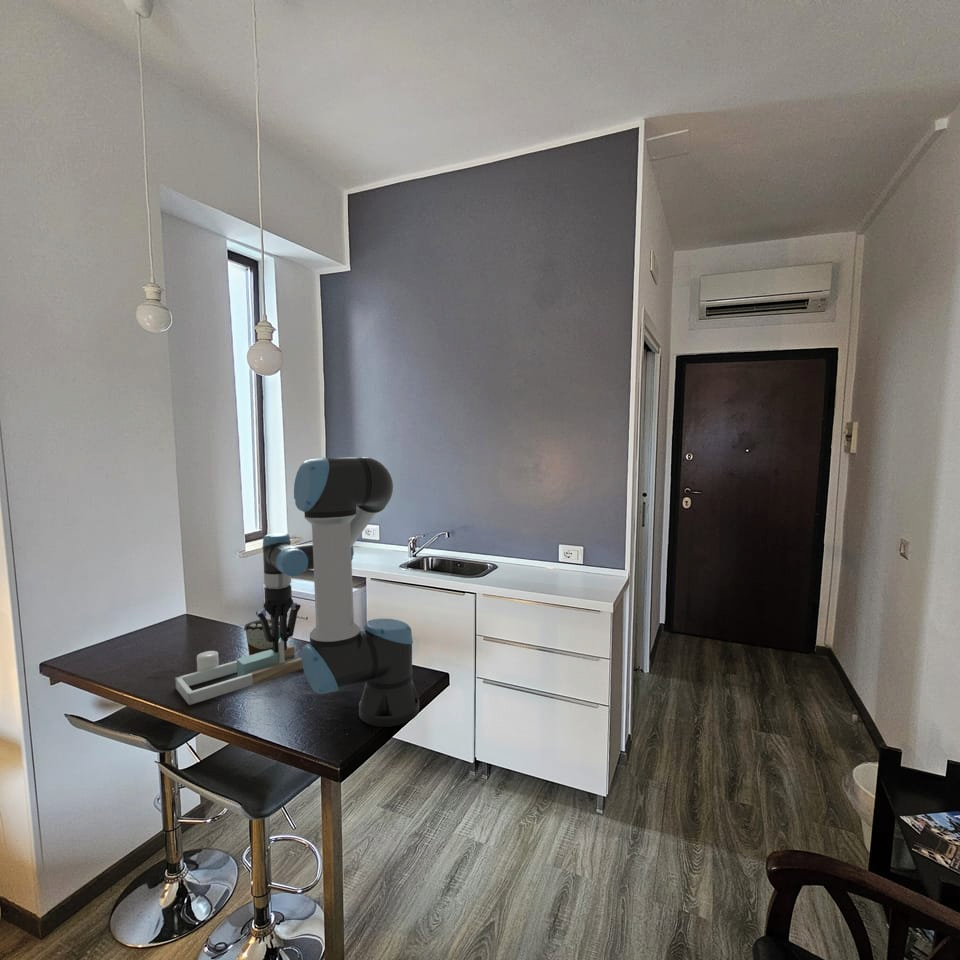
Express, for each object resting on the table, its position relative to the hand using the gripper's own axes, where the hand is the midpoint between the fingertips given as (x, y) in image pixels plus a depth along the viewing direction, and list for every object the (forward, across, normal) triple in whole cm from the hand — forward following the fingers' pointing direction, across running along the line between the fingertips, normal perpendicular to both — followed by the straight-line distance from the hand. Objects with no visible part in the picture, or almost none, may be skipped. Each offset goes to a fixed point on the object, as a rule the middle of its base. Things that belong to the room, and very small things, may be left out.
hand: (280, 661), depth 161 cm
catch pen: (+2, +18, 0) cm, 18 cm away
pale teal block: (+2, +4, 0) cm, 4 cm away
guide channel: (+2, +2, 0) cm, 3 cm away
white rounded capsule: (+2, +18, -9) cm, 20 cm away
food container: (+2, -1, -13) cm, 13 cm away
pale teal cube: (+2, +9, 0) cm, 9 cm away
